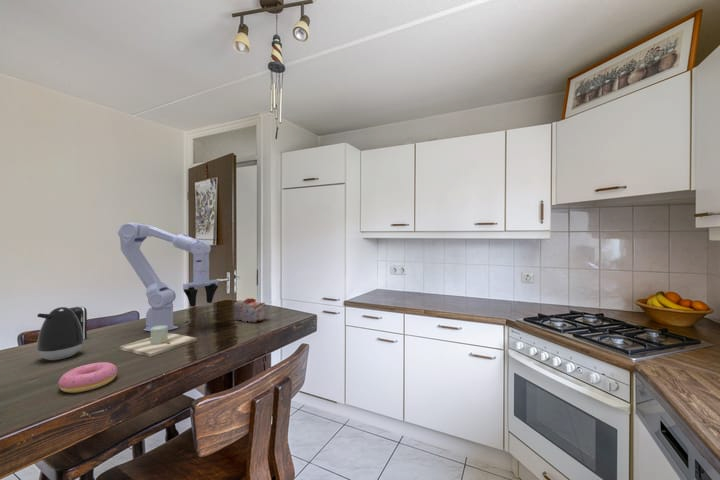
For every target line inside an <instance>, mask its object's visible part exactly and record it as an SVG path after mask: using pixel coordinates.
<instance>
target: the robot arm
mask: <svg viewBox="0 0 720 480" xmlns="http://www.w3.org/2000/svg"><path fill="white" fill-rule="evenodd" d="M117 235H118V237H119V243H120V251H121V252H122V254H123V255H124V257H125V258H126V260H127V261H128V263H129V264H130V266H131V267H132V269H133V270H134V272H135V274H136V275H137V276H138V277H139V280H140V281H141V283H142V284H143V285H144V287H145V288H146V289H145V290H146V291H145V296H146V297H147V303H148V304H149V308H148V310H147V311H146V312H145V326H146V327H145V328H143V331H144V332H145V331H146V332H151V328H152V327H154V326H160V325H167V326H168V331H172V330H175V329H178V328H179V326H177V325H174V304H173V302H175V300H176V292H175V291H174V290H173V289H172V288H170V287H169V286H168V285H167V284H166V283H164V282H162V280H161V279H160V278H159V276H158V275H157V273H156V272H155V270H154V268H153V266H152V265H151V264H150V262H149V261H148V259H147V258H146V256H145V254H144V253H143V252H142V250H141V246H142V244H143V242H144V241H145V240H146V239H147V238H149V237H150V238H151V237H154V238H157V239H160V240H164V241H167V242H169V243H172V245H173V247H175V248H177V249H180V250H182V251H185V252H188V253H191V254H192V255H193V259H192V260H193V261H192V263H193V265H192V266H193V270H192V272H193V273H192V277H193V278H192V282H186V283H182V289H183V293H185V295H186V298H187V300H188V302H189V307H193V308H194V307H196V305H197V295H198V290H199V289H196V288H201V287H204V289H205V294H206V304H212V302H213V300H214V296H215V293H216V291H217V289H218V288H219V287H218V285H219V280H218V279H210V253H211V250H212V247H211V245H210V244H209V243H208V242H207V241H205V240H204V241H203V240H202V241H200V238H193V237H191V236H188V235H189V234H187V233H183V234H182V233H179V234H177V235H176V234H173V233H171V232H170V231H167V230H164V229H162V228H159V227H156V226H153V225H149V224H145V223H136V222H132V221H130V222H129V221H128V222H124V223H122V224H121V225H120V226H119V229H118V232H117Z"/></svg>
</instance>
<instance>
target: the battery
mask: <svg viewBox="0 0 720 480" xmlns="http://www.w3.org/2000/svg"><path fill="white" fill-rule="evenodd" d="M68 308H69V309H71V310H72V311H73V312H74V313H75V315H76V316H77V318H78V320H79V322H80V324H81V327H82V331H83V337H84V340H85V339H87V338H88V335H87V333H88V332H87V331H88V330H87V328H88V326H87V325H88V315H87V314H88V312H87V308H86V307H84V306H75V307H68Z"/></svg>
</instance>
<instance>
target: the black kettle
mask: <svg viewBox="0 0 720 480" xmlns="http://www.w3.org/2000/svg"><path fill="white" fill-rule="evenodd" d="M69 308H70V307H66V306H61V307H57V308H54V309H53V310H51V311H50V312H49V313H38V314H37V318H41V319H44V321H43V323H42V325H41V328H40V330H39V333H38V337H37V342H36V351H38V354H39V355H40V357H42V358H43V359H45V360H47V361H59V360H60V361H61V360H63V359H68V358H70V357H73V356H75V355H76V354H77V353H78V352H79V351H80V350H81V347H82V345H83V343H84V342H85V339H84V337H83V331H82V327H81V324H80V322H79V320H78V318H77V316H76V315H75V313H74V312H73V311H72V310H71V309H69Z"/></svg>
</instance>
